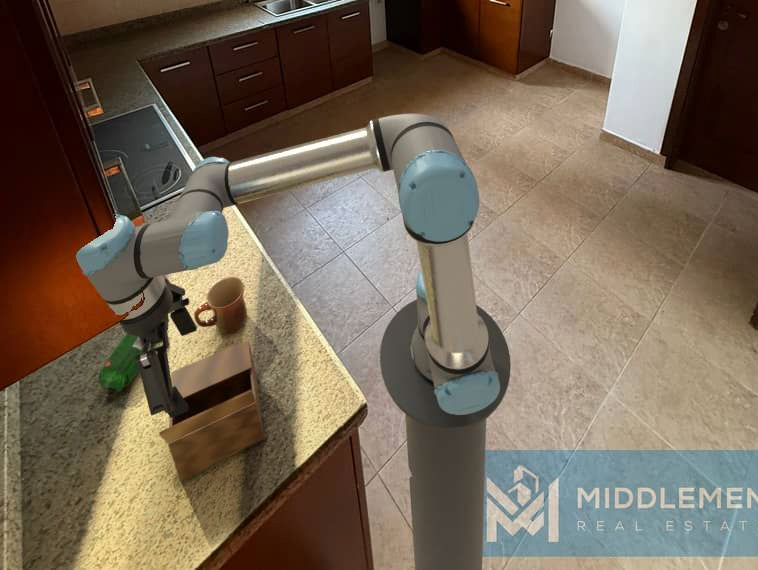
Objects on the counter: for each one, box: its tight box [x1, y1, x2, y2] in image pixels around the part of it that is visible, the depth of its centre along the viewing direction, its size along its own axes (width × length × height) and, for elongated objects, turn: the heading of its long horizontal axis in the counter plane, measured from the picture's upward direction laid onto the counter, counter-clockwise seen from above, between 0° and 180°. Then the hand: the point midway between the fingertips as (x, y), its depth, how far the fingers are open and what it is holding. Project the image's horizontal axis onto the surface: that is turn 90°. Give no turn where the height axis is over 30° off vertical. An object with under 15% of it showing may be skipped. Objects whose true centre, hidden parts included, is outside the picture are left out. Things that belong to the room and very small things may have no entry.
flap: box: [158, 389, 256, 444], centre depth 76 cm, size 15×6×1 cm
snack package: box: [98, 332, 156, 392], centre depth 100 cm, size 7×16×5 cm, turn 174°
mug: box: [193, 276, 248, 335], centre depth 105 cm, size 12×9×10 cm
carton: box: [167, 339, 265, 482], centre depth 85 cm, size 15×13×11 cm
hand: (185, 368), depth 78 cm, fingers open, 13 cm apart
